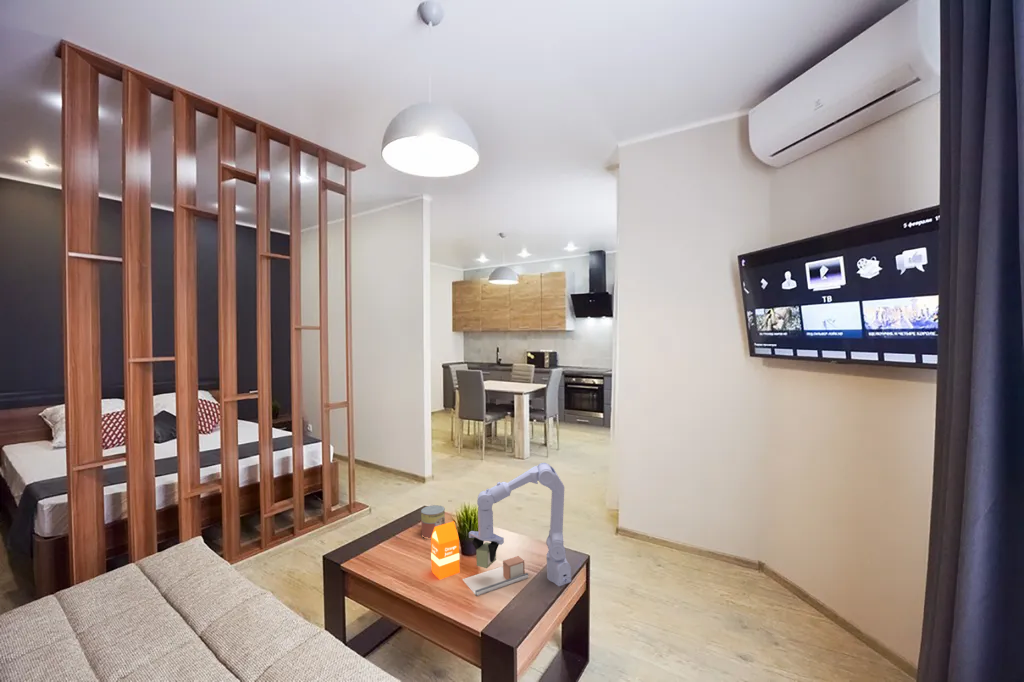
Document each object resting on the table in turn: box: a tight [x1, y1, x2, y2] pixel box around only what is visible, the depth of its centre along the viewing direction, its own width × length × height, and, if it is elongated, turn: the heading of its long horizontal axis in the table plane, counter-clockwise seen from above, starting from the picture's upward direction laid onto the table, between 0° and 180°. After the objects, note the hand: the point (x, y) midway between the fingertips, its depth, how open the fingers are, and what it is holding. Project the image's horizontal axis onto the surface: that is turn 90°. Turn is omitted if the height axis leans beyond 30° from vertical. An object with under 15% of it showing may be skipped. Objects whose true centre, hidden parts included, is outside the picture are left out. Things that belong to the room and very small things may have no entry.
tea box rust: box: [502, 555, 526, 580], centre depth 166 cm, size 5×7×6 cm
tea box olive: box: [475, 541, 497, 569], centre depth 164 cm, size 5×7×6 cm, turn 152°
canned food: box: [420, 504, 446, 538], centre depth 207 cm, size 11×11×12 cm
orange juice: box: [430, 520, 461, 580], centre depth 170 cm, size 8×9×20 cm
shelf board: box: [462, 565, 529, 597], centre depth 165 cm, size 13×22×2 cm, turn 120°
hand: (486, 559), depth 164 cm, fingers closed on tea box olive, 5 cm apart
